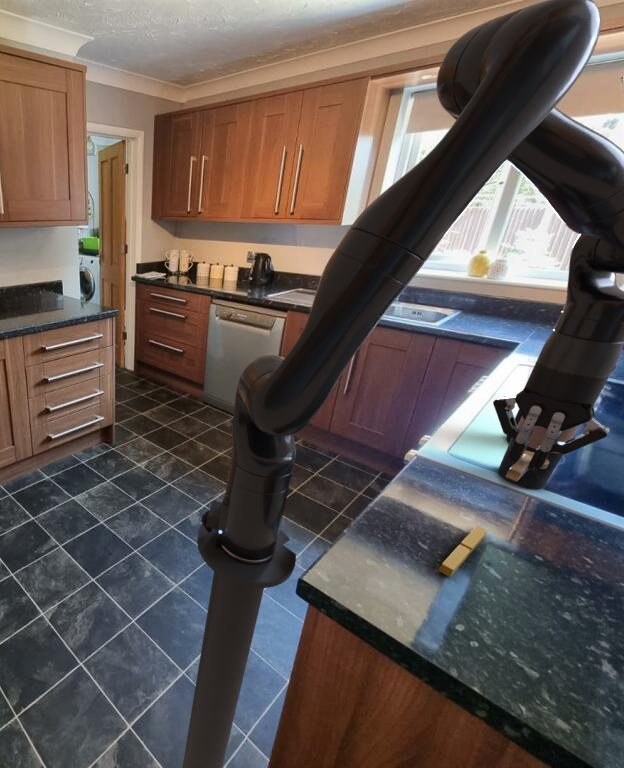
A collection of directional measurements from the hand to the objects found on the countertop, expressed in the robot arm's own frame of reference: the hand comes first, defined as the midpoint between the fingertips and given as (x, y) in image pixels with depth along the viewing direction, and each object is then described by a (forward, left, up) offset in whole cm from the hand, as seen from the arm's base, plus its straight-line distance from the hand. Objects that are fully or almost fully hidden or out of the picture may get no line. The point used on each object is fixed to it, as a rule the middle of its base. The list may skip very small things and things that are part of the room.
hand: (523, 464), depth 68 cm
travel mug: (+10, +20, -13) cm, 26 cm away
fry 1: (-8, -13, -13) cm, 20 cm away
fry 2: (-4, -6, -13) cm, 15 cm away
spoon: (0, 0, -1) cm, 1 cm away
